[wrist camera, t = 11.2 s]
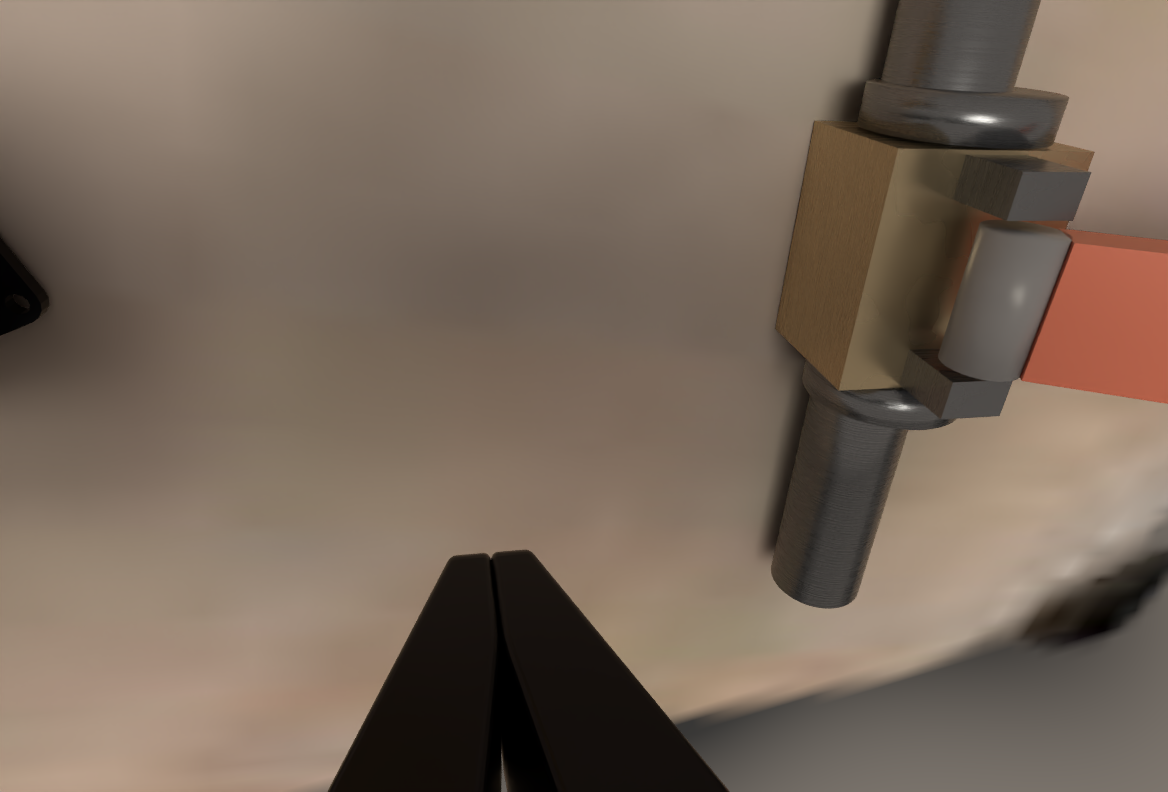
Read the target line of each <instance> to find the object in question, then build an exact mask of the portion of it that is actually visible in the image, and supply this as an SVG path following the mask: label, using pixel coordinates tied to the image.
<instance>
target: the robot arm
mask: <svg viewBox="0 0 1168 792" xmlns="http://www.w3.org/2000/svg"><path fill="white" fill-rule="evenodd" d="M14 294H17V295H20V296H23V297H24V298H25V299H26V300H28V302H29V304H30V308H25V307H22V306H20V305H19V304H17V303H16V301H15V299H14V298H13V296H14ZM48 307H49V298H48V296H47V294H46V292H45V291H44V289H43V288H42V287H41V286H40V285H39V283H38V282H37V281H36V280H35V279H34V277H33V276H32V275H31V274H30V273H29V271H28V270H27V269H26V268H25V267H24V265H23V264H22V263H21V262H20V261H19V259H18V258H17V257H16V256H15V255H14V253H13V252H12V251H11V250H10V249H9V247H8V246H7V245H6V244H5V243H4V241H3V240H2V239H1V238H0V336H1V335H3V334H5V333H8V332H10V331H13V330H15V329H17V328H20V327H22V326H25V325H27V324H29V323H32V322H34V321H35V320H36V319H38V318H39V317H40V316H42V315H43V314H44V313H45V312H46V311H47V309H48ZM501 750H502V760H503V770H504V776H505V782H506V788H507V792H729V790H728V789H727V788H726V786H725V785H724V784H723V783H722V782H721V780H720V779H719V778H718V777H717V776H716V774H715V773H714V772H713V771H712V770H711V768H710V767H709V766H708V765H707V764H706V762H705V761H704V760H703V759H702V757H701V756H700V755H699V754H698V753H697V751H696V750H695V749H694V748H693V746H692V745H691V744H690V743H689V742H688V740H687V739H686V738H685V737H684V736H683V734H682V733H681V732H680V731H679V730H678V728H677V727H676V726H675V725H674V723H673V722H672V721H671V720H670V719H669V717H668V716H667V715H666V714H665V713H664V711H663V710H662V709H661V708H660V706H659V705H658V704H657V703H656V702H655V700H654V699H653V698H652V697H651V696H650V694H649V693H648V692H647V691H646V689H645V688H644V687H643V686H642V685H641V683H640V682H639V681H638V680H637V679H636V677H635V676H634V675H633V674H632V673H631V671H630V670H629V669H628V668H627V666H626V665H625V664H624V663H623V662H622V660H621V659H620V658H619V657H618V656H617V654H616V653H615V652H614V651H613V650H612V648H611V647H610V646H609V645H608V643H607V642H606V641H605V640H604V639H603V637H602V636H601V635H600V634H599V633H598V631H597V630H596V629H595V628H594V627H593V625H592V624H591V623H590V622H589V620H588V619H587V618H586V617H585V616H584V614H583V613H582V612H581V611H580V610H579V608H578V607H577V606H576V605H575V603H574V602H573V601H572V600H571V599H570V597H569V596H568V595H567V594H566V593H565V591H564V590H563V589H562V588H561V587H560V585H559V584H558V583H557V582H556V580H555V579H554V578H553V577H552V576H551V574H550V573H549V572H548V571H547V570H546V568H545V567H544V566H543V565H542V564H541V562H540V561H539V560H538V559H537V557H536V556H535V555H534V554H533V553H532V552H531V551H529V550H515V551H503V552H496V553H494V554H493V556H492V558H491V559H490V557H489V555H488V554H486V553H479V554H467V555H456V556H453V557H451V558H450V559H449V561H448V562H447V564H446V566H445V567H444V569H443V571H442V573H441V575H440V577H439V579H438V581H437V583H436V585H435V587H434V589H433V590H432V592H431V594H430V596H429V598H428V600H427V602H426V604H425V606H424V608H423V610H422V612H421V613H420V615H419V617H418V619H417V621H416V623H415V625H414V627H413V629H412V631H411V633H410V635H409V636H408V638H407V640H406V642H405V644H404V646H403V648H402V650H401V652H400V654H399V656H398V657H397V659H396V661H395V663H394V665H393V667H392V669H391V671H390V673H389V675H388V677H387V679H386V680H385V682H384V684H383V686H382V688H381V690H380V692H379V694H378V696H377V698H376V700H375V702H374V703H373V705H372V707H371V709H370V711H369V713H368V715H367V717H366V719H365V721H364V723H363V725H362V726H361V728H360V730H359V732H358V734H357V736H356V738H355V740H354V742H353V744H352V746H351V747H350V749H349V751H348V753H347V755H346V757H345V759H344V761H343V763H342V765H341V767H340V769H339V770H338V772H337V774H336V776H335V778H334V780H333V782H332V784H331V786H330V788H329V790H328V792H501V778H502V777H501V776H502V775H501V774H502V767H501V766H502V761H501Z"/></svg>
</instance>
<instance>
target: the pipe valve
mask: <svg viewBox="0 0 1168 792" xmlns="http://www.w3.org/2000/svg"><path fill="white" fill-rule="evenodd" d="M1040 2H1041V0H899V3H898V8H897V12H896V16H895V21H894V25H893V30H892V34H891V39H890V43H889V47H888V52H887V56H886V61H885V65H884V70H883V74H882V78H879V79H869V80H867V81H866V85H865V89H864V94H863V99H862V103H861V108H860V112H859V117H858V122H848V121H815V122H814V128H813V133H812V138H811V143H810V149H809V154H808V159H807V164H806V170H805V175H804V180H803V185H802V191H801V196H800V201H799V207H798V212H797V217H796V222H795V228H794V233H793V238H792V243H791V249H790V254H789V259H788V264H787V270H786V275H785V280H784V286H783V291H782V296H781V301H780V307H779V312H778V317H777V322H776V328H775V329H776V330H777V331H778V332H779V333H780V334H781V335H782V336H783V337H784V338H785V339H786V340H787V341H788V342H790V343H791V344H792V345H793V346H794V347H795V348H796V349H797V350H798V351H799V352H800V353H801V354H802V355H803V356H804V357H805V358H806V361H805V366H804V371H803V375H802V382H803V385H804V387H805V389H806V390H807V391H808V393H809V394H810V397H809V401H808V406H807V410H806V415H805V419H804V424H803V428H802V432H801V437H800V441H799V446H798V450H797V454H796V459H795V463H794V468H793V472H792V477H791V481H790V485H789V490H788V494H787V499H786V503H785V508H784V512H783V516H782V521H781V525H780V530H779V534H778V539H777V543H776V547H775V552H774V556H773V561H772V565H771V573H772V576H773V579H774V581H775V582H776V584H777V585H778V586H779V588H780V589H781V590H782V591H784V592H785V593H786V594H787V595H789V596H790V597H792V598H793V599H795V600H797V601H799V602H801V603H804V604H806V605H810V606H813V607H818V608H838V607H842V606H845V605H847V604H849V603H851V602H852V601H853V600H854V599H855V597H856V596H857V593H858V590H859V587H860V584H861V581H862V577H863V574H864V571H865V568H866V564H867V561H868V558H869V555H870V551H871V548H872V545H873V542H874V539H875V535H876V532H877V529H878V526H879V522H880V519H881V516H882V513H883V509H884V506H885V503H886V500H887V497H888V493H889V490H890V487H891V484H892V480H893V477H894V474H895V471H896V467H897V464H898V461H899V458H900V455H901V451H902V448H903V445H904V442H905V438H906V435H907V432H908V430H926V429H934V428H939V427H942V426H945V425H948V424H950V423H952V422H953V421H955V420H956V419H957V418H973V417H990V416H1000V413H1001V410H1002V408H1003V405H1004V402H1005V400H1006V397H1007V394H1008V392H1009V389H1010V386H1011V384H1012V381H1007V382H996V381H987V380H981V379H977V378H973V377H969V376H966V375H963V374H961V373H958V372H956V371H954V370H952V369H950V368H948V367H947V366H945V365H944V364H943V363H942V362H941V361H940V360H939V358H938V354H939V351H940V347H941V344H942V341H943V338H944V335H945V332H946V328H947V325H948V322H949V319H950V316H951V312H952V309H953V306H954V303H955V300H956V297H957V293H958V290H959V287H960V284H961V281H962V278H963V274H964V271H965V268H966V265H967V262H968V258H969V255H970V252H971V249H972V246H973V243H974V239H975V236H976V233H977V230H978V227H979V223H980V222H982V221H986V220H1006V221H1022V222H1029V223H1034V224H1039V225H1044V226H1048V227H1051V228H1055V229H1066V227H1067V224H1068V222H1069V221H1073V219H1074V217H1075V214H1076V211H1077V209H1078V206H1079V203H1080V201H1081V198H1082V196H1083V193H1084V190H1085V188H1086V185H1087V182H1088V180H1089V177H1090V174H1091V172H1088V168H1089V166H1090V163H1091V160H1092V158H1093V155H1094V152H1093V151H1089V150H1085V149H1080V148H1076V147H1072V146H1068V145H1064V144H1059V143H1055V142H1054V140H1055V137H1056V134H1057V131H1058V129H1059V126H1060V123H1061V120H1062V117H1063V114H1064V111H1065V108H1066V105H1067V103H1068V100H1069V97H1068V96H1065V95H1062V94H1058V93H1053V92H1047V91H1041V90H1034V89H1027V88H1019V87H1014V86H1015V83H1016V80H1017V77H1018V73H1019V70H1020V67H1021V64H1022V60H1023V57H1024V54H1025V51H1026V47H1027V44H1028V41H1029V38H1030V34H1031V31H1032V28H1033V25H1034V22H1035V18H1036V15H1037V12H1038V9H1039V5H1040Z"/></svg>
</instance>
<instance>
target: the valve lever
mask: <svg viewBox="0 0 1168 792" xmlns="http://www.w3.org/2000/svg"><path fill="white" fill-rule="evenodd" d="M938 358H939V360H940V361H941V362H942V363H943V364H944V365H945V366H947V367H948V368H950V369H952V370H954V371H956V372H958V373H961V374H963V375H966V376H969V377H973V378H977V379H981V380H987V381H996V382H1007V381H1013V380H1016V379H1018V378H1021V380H1022V381H1026V382H1033V383H1039V384H1046V385H1052V386H1058V387H1065V388H1071V389H1077V390H1084V391H1090V392H1097V393H1103V394H1109V395H1116V396H1122V397H1128V398H1135V399H1141V400H1148V401H1154V402H1160V403H1167V404H1168V241H1167V240H1158V239H1149V238H1140V237H1131V236H1122V235H1113V234H1104V233H1095V232H1086V231H1077V230H1068V229H1055V228H1051V227H1048V226H1044V225H1039V224H1034V223H1029V222H1022V221H1006V220H986V221H982V222H980V223H979V227H978V230H977V233H976V236H975V239H974V243H973V246H972V249H971V252H970V255H969V258H968V262H967V265H966V268H965V271H964V274H963V278H962V281H961V284H960V287H959V290H958V293H957V297H956V300H955V303H954V306H953V309H952V312H951V316H950V319H949V322H948V325H947V328H946V332H945V335H944V338H943V341H942V344H941V347H940V351H939V354H938Z"/></svg>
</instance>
